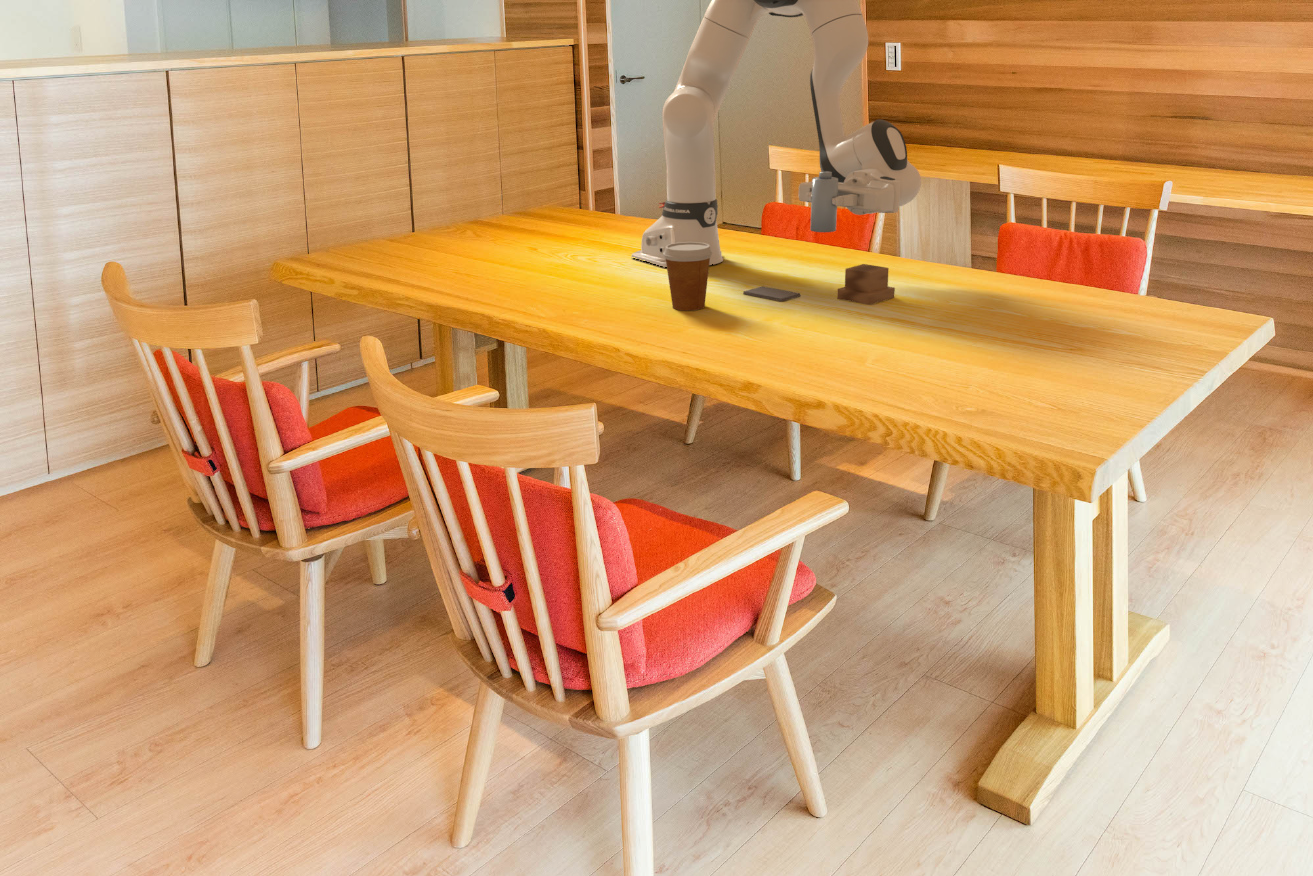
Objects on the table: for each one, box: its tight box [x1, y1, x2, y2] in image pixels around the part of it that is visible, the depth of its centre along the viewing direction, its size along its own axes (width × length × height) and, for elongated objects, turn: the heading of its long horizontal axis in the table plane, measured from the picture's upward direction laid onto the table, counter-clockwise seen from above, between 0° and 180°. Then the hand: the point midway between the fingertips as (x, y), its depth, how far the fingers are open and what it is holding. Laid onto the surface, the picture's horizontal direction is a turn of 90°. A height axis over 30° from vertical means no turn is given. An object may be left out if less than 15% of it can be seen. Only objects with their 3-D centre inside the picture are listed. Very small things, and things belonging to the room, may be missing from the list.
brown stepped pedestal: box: [837, 263, 896, 306], centre depth 225 cm, size 8×8×6 cm
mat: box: [743, 285, 801, 302], centre depth 231 cm, size 10×6×1 cm, turn 44°
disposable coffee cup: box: [663, 242, 712, 312], centre depth 221 cm, size 10×10×12 cm
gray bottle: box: [809, 171, 838, 233], centre depth 222 cm, size 5×5×11 cm
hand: (821, 199), depth 221 cm, fingers closed on gray bottle, 5 cm apart
